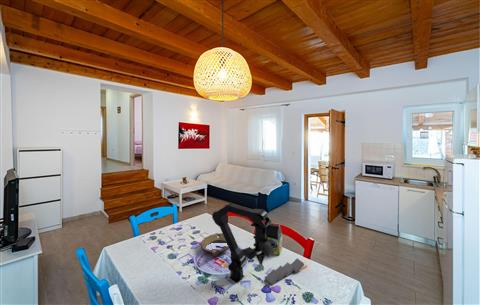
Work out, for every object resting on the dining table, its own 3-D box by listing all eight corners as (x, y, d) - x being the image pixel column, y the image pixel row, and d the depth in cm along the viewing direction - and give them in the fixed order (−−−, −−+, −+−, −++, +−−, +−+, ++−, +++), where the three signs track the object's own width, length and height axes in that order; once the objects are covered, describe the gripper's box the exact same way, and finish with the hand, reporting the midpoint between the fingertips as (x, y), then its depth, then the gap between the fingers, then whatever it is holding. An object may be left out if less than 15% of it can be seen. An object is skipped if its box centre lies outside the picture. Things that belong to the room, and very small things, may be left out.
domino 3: (285, 274, 114) (294, 266, 117) (279, 269, 118) (287, 262, 121) (286, 277, 114) (294, 269, 118) (280, 272, 118) (288, 264, 122)
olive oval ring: (238, 242, 152) (238, 232, 152) (219, 266, 125) (219, 254, 124) (212, 237, 161) (211, 228, 160) (188, 258, 133) (188, 247, 132)
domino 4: (295, 271, 116) (303, 262, 119) (288, 265, 121) (297, 258, 124) (295, 273, 117) (304, 265, 120) (289, 268, 121) (297, 260, 124)
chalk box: (265, 253, 138) (265, 231, 137) (269, 246, 146) (269, 226, 145) (279, 256, 134) (279, 234, 133) (282, 249, 143) (282, 228, 141)
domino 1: (270, 282, 107) (280, 273, 111) (264, 277, 111) (273, 269, 115) (271, 285, 108) (280, 276, 111) (265, 280, 112) (274, 271, 115)
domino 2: (278, 278, 110) (287, 270, 114) (272, 273, 115) (280, 265, 118) (279, 281, 111) (287, 272, 114) (272, 276, 115) (281, 267, 119)
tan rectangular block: (299, 269, 118) (307, 265, 122) (292, 265, 123) (300, 261, 126) (299, 272, 119) (307, 268, 122) (292, 268, 123) (300, 263, 127)
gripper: (255, 247, 93) (256, 280, 95) (285, 236, 104) (285, 265, 105) (242, 237, 103) (242, 267, 104) (270, 228, 113) (270, 255, 114)
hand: (260, 264), depth 106 cm, fingers closed
